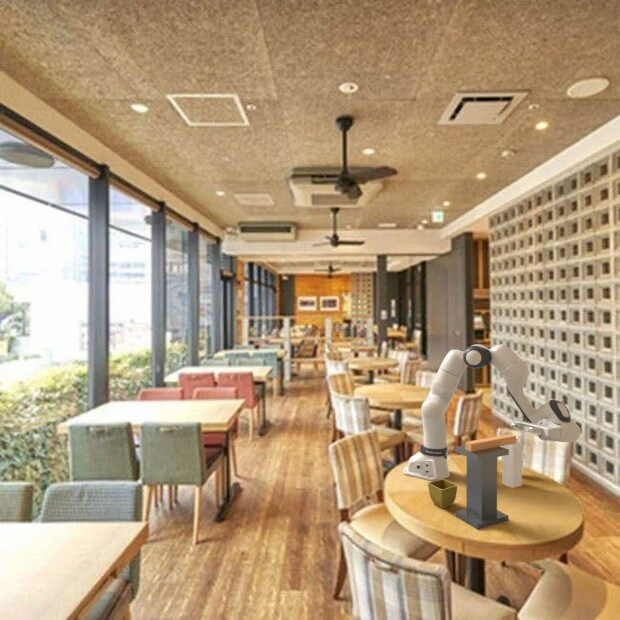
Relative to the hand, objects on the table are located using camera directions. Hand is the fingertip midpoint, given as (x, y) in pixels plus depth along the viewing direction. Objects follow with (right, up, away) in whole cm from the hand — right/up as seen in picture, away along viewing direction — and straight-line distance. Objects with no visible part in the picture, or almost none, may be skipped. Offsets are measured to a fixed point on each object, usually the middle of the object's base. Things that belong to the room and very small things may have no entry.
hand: (521, 427), depth 194 cm
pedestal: (-19, -34, -8) cm, 40 cm away
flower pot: (-31, -34, +4) cm, 46 cm away
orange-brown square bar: (-15, -6, -7) cm, 17 cm away
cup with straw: (+14, -33, +36) cm, 51 cm away
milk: (+7, -33, +25) cm, 42 cm away
